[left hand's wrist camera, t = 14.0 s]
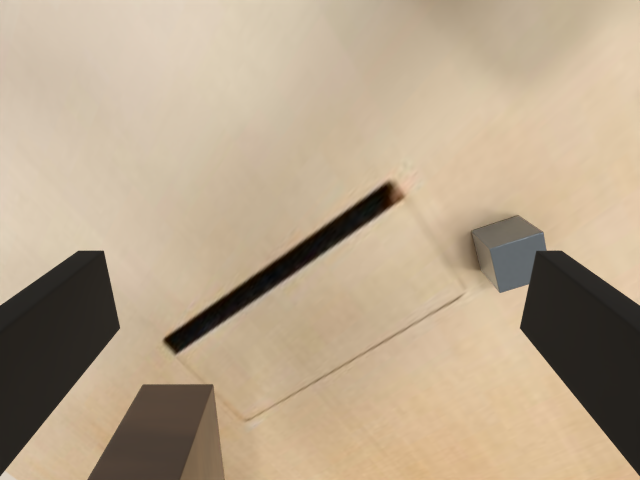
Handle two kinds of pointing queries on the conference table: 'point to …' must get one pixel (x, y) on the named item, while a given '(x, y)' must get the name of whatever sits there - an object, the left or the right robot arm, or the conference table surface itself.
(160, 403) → the walnut bar
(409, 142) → the conference table surface
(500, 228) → the grey block
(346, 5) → the conference table surface
